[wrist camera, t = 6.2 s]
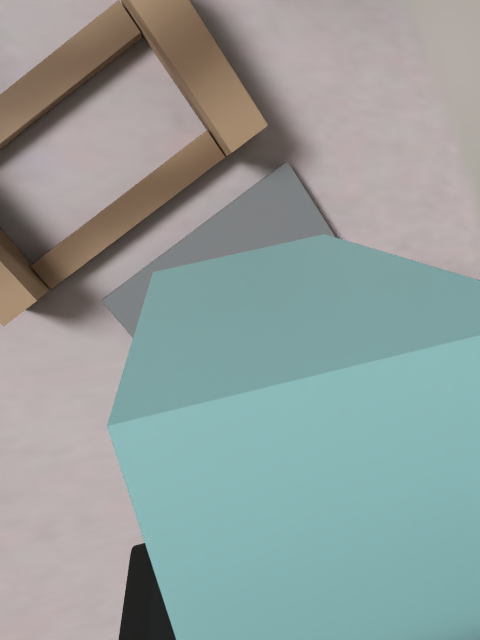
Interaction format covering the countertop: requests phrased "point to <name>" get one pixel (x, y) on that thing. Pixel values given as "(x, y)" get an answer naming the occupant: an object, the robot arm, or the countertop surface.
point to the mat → (230, 236)
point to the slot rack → (166, 181)
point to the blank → (307, 444)
